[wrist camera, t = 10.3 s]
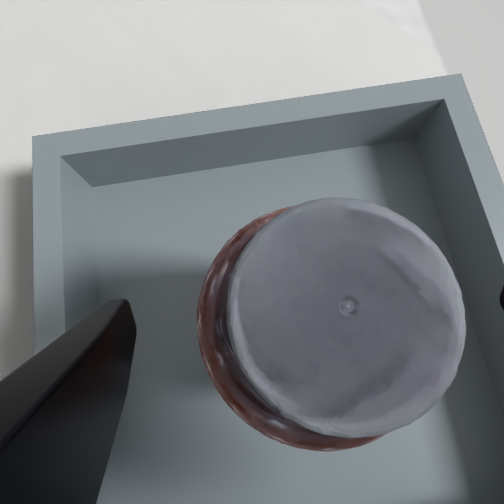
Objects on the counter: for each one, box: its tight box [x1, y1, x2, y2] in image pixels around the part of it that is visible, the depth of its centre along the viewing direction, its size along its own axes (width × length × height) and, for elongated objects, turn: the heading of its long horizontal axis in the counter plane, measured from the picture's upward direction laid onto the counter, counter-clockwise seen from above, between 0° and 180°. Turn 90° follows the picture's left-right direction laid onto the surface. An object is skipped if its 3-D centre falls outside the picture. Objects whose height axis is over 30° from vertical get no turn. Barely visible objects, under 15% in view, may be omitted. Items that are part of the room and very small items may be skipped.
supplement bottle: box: [197, 198, 466, 452], centre depth 11 cm, size 6×6×11 cm
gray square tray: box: [32, 74, 504, 504], centre depth 16 cm, size 20×20×4 cm
